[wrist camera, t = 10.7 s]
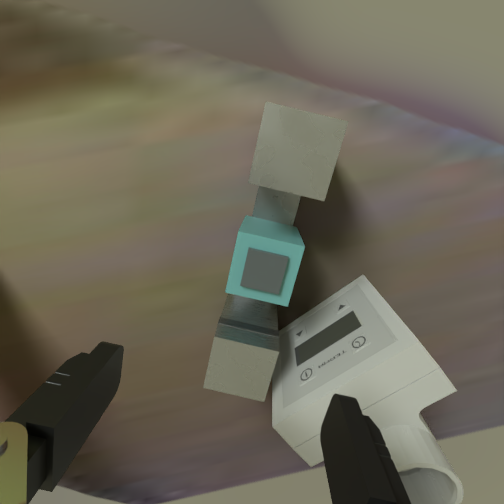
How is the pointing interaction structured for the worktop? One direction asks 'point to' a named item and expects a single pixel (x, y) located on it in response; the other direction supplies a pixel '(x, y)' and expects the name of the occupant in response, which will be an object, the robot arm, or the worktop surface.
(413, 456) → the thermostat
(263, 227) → the block
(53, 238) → the worktop surface
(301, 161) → the rail
